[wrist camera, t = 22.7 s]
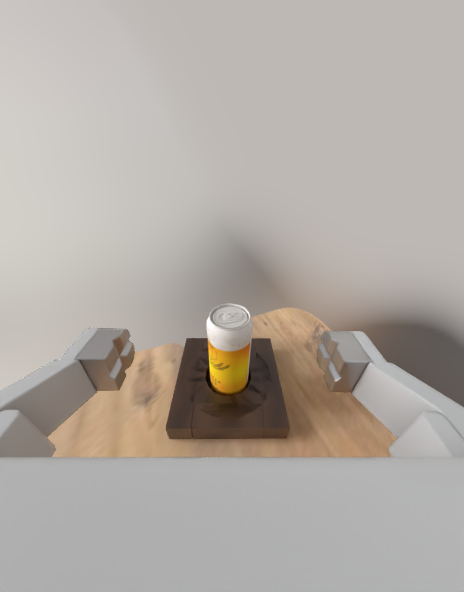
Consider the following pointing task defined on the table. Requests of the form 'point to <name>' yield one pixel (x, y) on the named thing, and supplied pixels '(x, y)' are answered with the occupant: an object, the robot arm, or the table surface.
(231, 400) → the holder
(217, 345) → the beer can
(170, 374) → the table surface
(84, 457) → the robot arm
